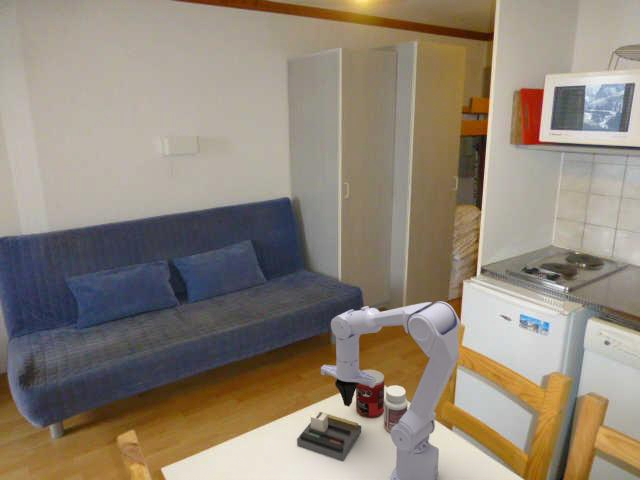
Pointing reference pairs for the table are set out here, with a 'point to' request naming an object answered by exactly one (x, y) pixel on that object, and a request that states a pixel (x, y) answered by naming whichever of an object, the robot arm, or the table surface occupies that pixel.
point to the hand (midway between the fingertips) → (348, 403)
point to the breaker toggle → (319, 421)
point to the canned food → (370, 396)
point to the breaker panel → (331, 438)
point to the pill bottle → (394, 406)
